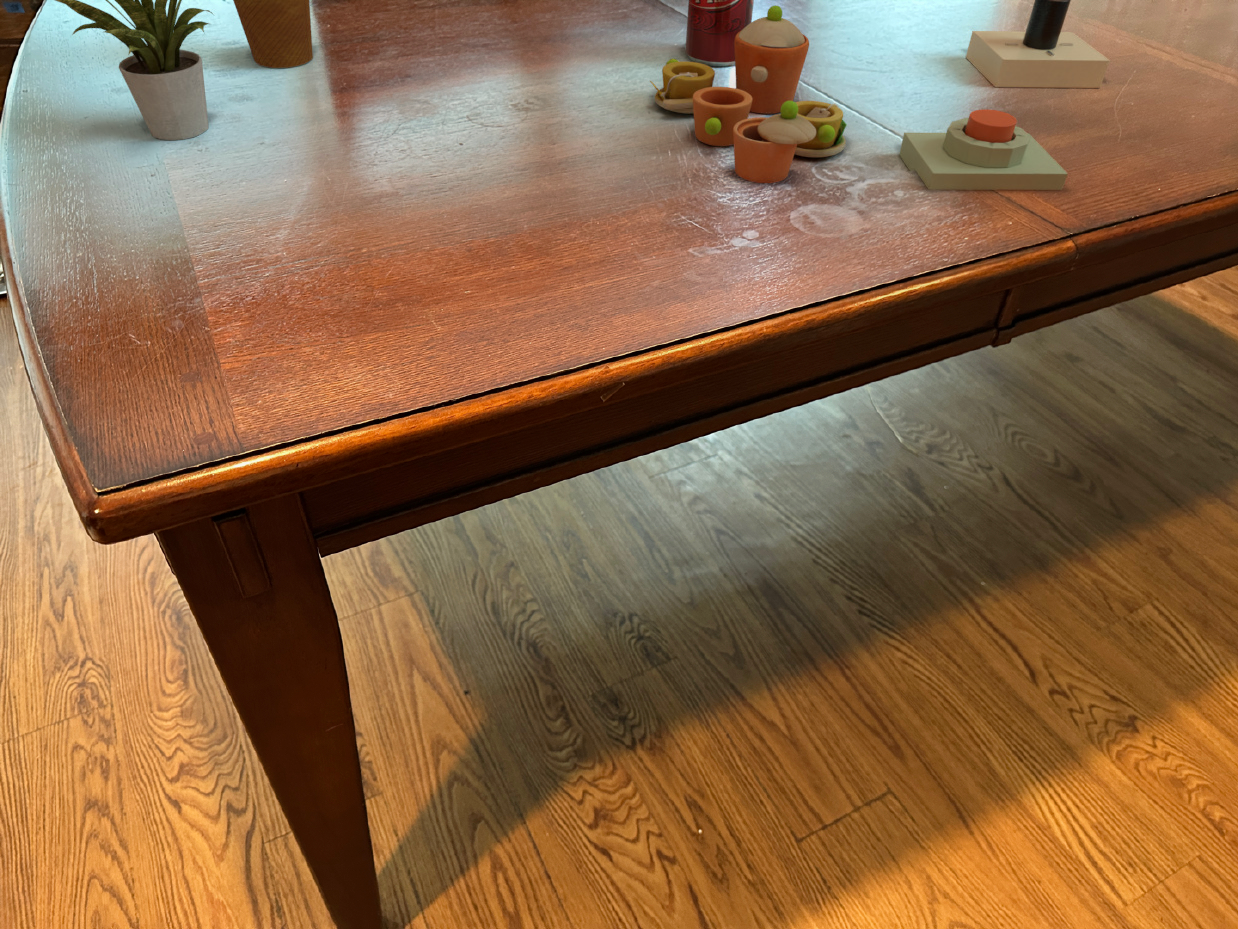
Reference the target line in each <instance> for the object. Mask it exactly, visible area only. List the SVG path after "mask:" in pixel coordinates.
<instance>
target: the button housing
mask: <svg viewBox="0 0 1238 929" xmlns="http://www.w3.org/2000/svg"><path fill="white" fill-rule="evenodd" d="M968 119H969V117H965V118H961V119H956V120H953V121H951V123H950V124H949V125H948V127H947V129H946V132H904V133H903V137H902V140H901V145H900V149H899V154H898V155H899V157H900V158H901V160H902V162H903V163H904V164H905V166H906V168H907V169H908V170H909V171H912V172H913V171H915V172H916V173H917V175H918V177H920V179H921V181H922V182H923V184H924V185H925V186H926V188H927V190H931V191H934V190H935V191H936V190H940V191H942V190H943V191H946V190H953V191H954V190H956V191H959V190H961V191H962V190H963V191H964V190H967V191H969V190H970V191H971V190H973V191H976V190H979V191H984V190H985V191H986V190H987V191H989V190H990V191H999V190H1000V191H1030V190H1031V191H1062V190H1064V189H1063V188H1064V186H1065V183H1066V180H1067V177H1068V172H1067V171H1066V170H1065V169H1064V168H1063V167H1062V166H1061V165H1060V164H1059V163H1058V161H1056V159H1055V158H1054V157H1052V155H1050V153H1049V152H1048V151H1047V150H1046V149H1045V148H1044V147H1043V146H1042V145H1041V144H1040V143H1039V142H1038V141H1037V140H1036V139H1035V138H1034V137H1033V136H1032V134H1030V133H1029V132H1028V133H1027V132H1026V131H1025V130H1024V129H1023V128H1022V127H1019V126H1017V125H1016V126H1015V129H1014V132H1013V135H1012V139H1011V141H1009V142H1006V143H990V142H985V141H980V140H976V139H973V138H971V137H969V136H967V135H965V130H966V126H967V123H968Z"/></svg>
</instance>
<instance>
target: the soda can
mask: <svg viewBox="0 0 1238 929" xmlns="http://www.w3.org/2000/svg"><path fill="white" fill-rule="evenodd" d="M754 2H755V0H688V3H687V4H688V5H687V6H688V7H687V20H686V33H685V34H686V35H685V48H684V50H685V54H686V55H687V58H689V59H690V60H691V62H696V63H701V64H705V65H707V66H709V67H731V66H735V46H734V41H735V36H736V35H737V33H738V32H740V31H742V30H743V29H744V28H745V27H746V26H747V25H749V24H750V23H751V22H753V14H754V12H753V11H754Z"/></svg>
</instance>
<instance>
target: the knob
mask: <svg viewBox="0 0 1238 929" xmlns="http://www.w3.org/2000/svg"><path fill="white" fill-rule="evenodd" d="M1071 1H1072V0H1034V3H1033V6H1032V9H1031V12H1030V17H1029V19H1028V22H1027V26H1026V30H1025V31H1024V32H1025V36H1024V39H1023V44H1024V45H1026V46H1028V47H1031V48H1035V49H1045V50H1047V49H1054V48H1055V47H1056V45H1057V42H1058V39H1059V36H1060V32H1062V29H1063V26H1064V23H1065V20H1066V16H1067V14H1068V10H1069V7H1070V5H1071Z"/></svg>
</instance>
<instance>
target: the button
mask: <svg viewBox="0 0 1238 929" xmlns="http://www.w3.org/2000/svg"><path fill="white" fill-rule="evenodd" d="M968 118H969V119H968V123H967V126H966V130H965V135H967V136H969V137H971V138H973V139H976V140H980V141H985V142H990V143H1006V142H1009V141H1011V139H1012V135H1013V132H1014V129H1015V126H1017V123H1018V122H1017V121H1018V120H1017V119H1016V117H1015V116H1014V115H1012V114H1010V113H1008V112H1004V111H1001V110H996V109H988V108H986V109H985V108H984V109H976V110H975V109H974V110H973V111H971V112H970V113H969V116H968Z"/></svg>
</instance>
